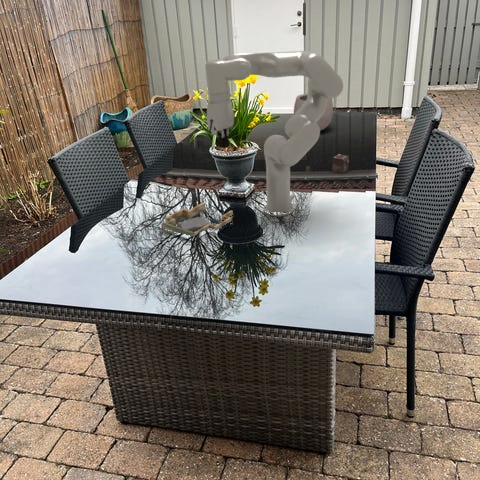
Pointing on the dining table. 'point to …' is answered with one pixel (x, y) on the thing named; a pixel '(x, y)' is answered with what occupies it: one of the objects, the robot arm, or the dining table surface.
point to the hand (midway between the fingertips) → (224, 146)
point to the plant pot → (326, 116)
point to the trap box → (185, 214)
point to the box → (340, 163)
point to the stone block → (193, 223)
